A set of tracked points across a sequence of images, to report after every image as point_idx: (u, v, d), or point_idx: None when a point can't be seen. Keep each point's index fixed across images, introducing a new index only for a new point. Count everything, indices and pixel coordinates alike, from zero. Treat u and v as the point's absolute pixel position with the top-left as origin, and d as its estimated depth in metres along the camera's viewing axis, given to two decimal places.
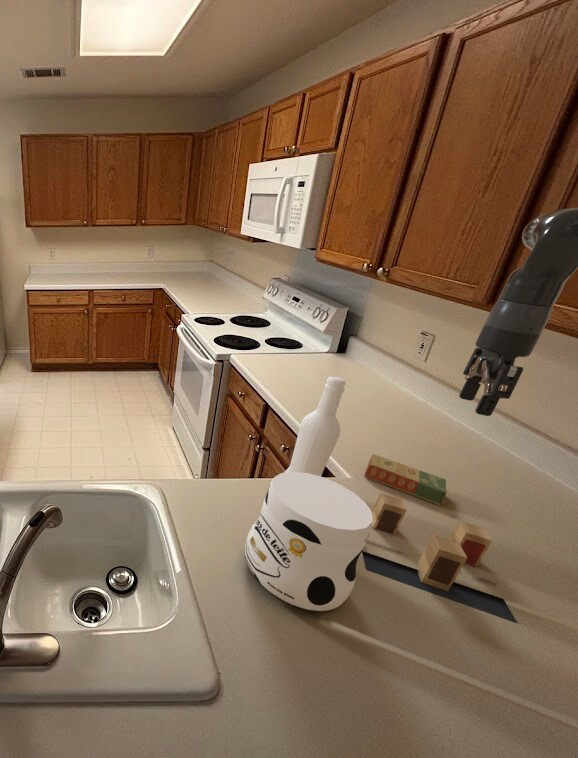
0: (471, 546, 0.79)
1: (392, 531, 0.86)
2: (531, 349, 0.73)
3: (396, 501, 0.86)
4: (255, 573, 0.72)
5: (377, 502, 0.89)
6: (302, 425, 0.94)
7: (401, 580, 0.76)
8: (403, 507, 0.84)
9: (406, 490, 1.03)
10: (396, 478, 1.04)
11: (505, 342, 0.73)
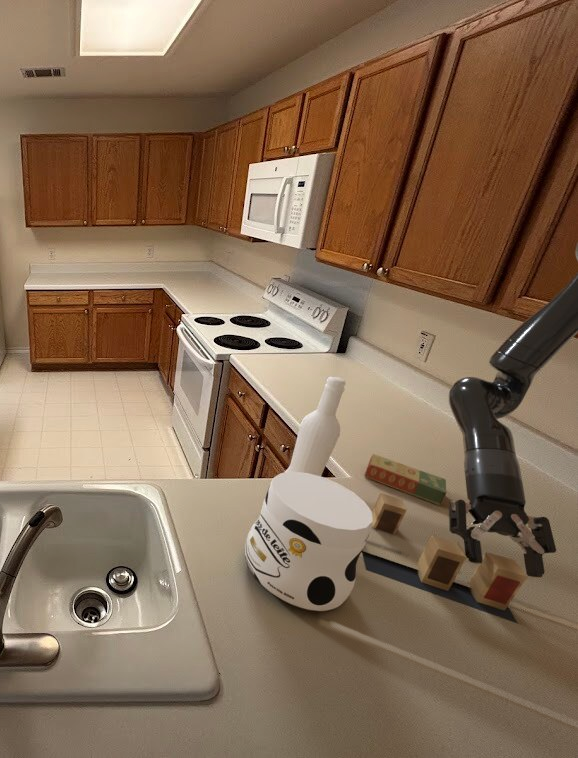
0: (503, 583, 0.70)
1: (392, 531, 0.86)
2: (491, 488, 0.74)
3: (396, 501, 0.86)
4: (255, 573, 0.72)
5: (377, 502, 0.89)
6: (302, 425, 0.94)
7: (401, 580, 0.76)
8: (403, 507, 0.84)
9: (406, 490, 1.03)
10: (396, 478, 1.04)
11: (466, 487, 0.78)
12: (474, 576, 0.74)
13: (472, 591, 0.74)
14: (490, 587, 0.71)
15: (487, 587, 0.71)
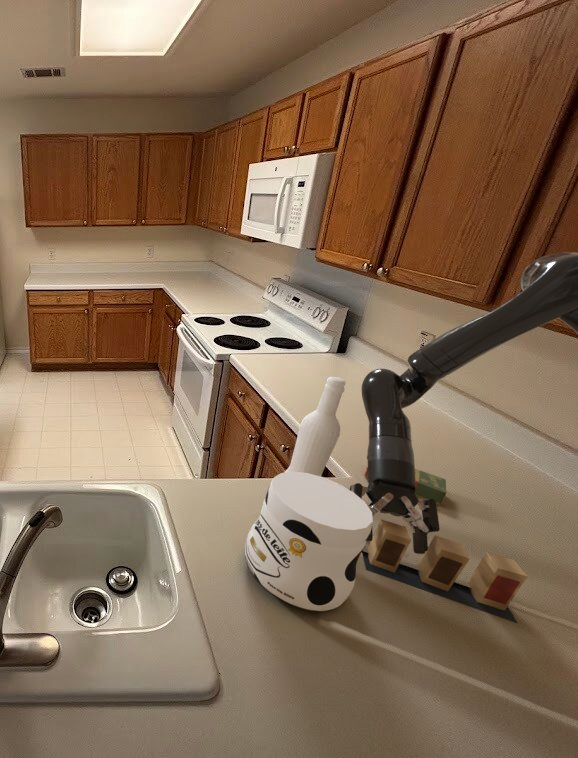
0: (503, 583, 0.70)
1: (395, 563, 0.77)
2: (384, 472, 0.79)
3: (399, 529, 0.77)
4: (255, 573, 0.72)
5: (378, 529, 0.79)
6: (302, 425, 0.94)
7: (401, 580, 0.76)
8: (407, 537, 0.75)
9: None
10: None
11: None
12: (474, 576, 0.74)
13: (472, 591, 0.74)
14: (490, 587, 0.71)
15: (487, 587, 0.71)
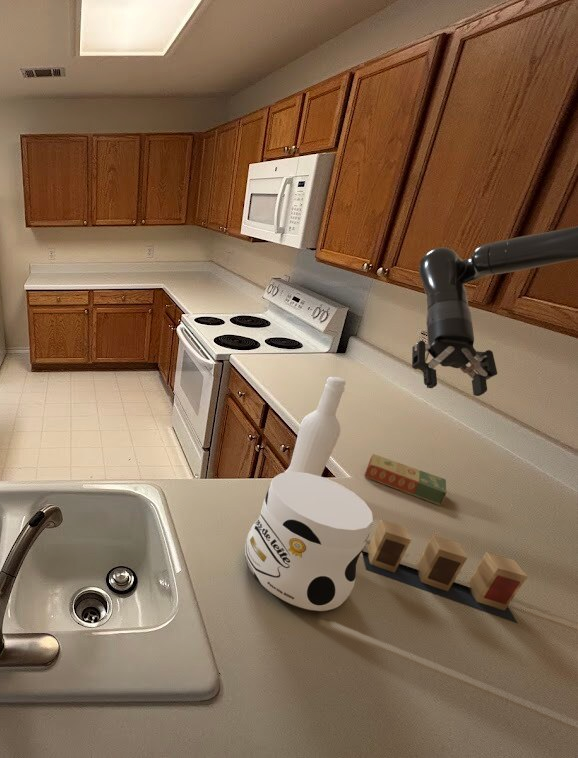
0: (503, 583, 0.70)
1: (395, 563, 0.77)
2: (446, 329, 0.89)
3: (399, 529, 0.77)
4: (255, 573, 0.72)
5: (378, 529, 0.79)
6: (302, 425, 0.94)
7: (401, 580, 0.76)
8: (407, 537, 0.75)
9: (406, 490, 1.03)
10: (396, 478, 1.04)
11: None
12: (474, 576, 0.74)
13: (472, 591, 0.74)
14: (490, 587, 0.71)
15: (487, 587, 0.71)
